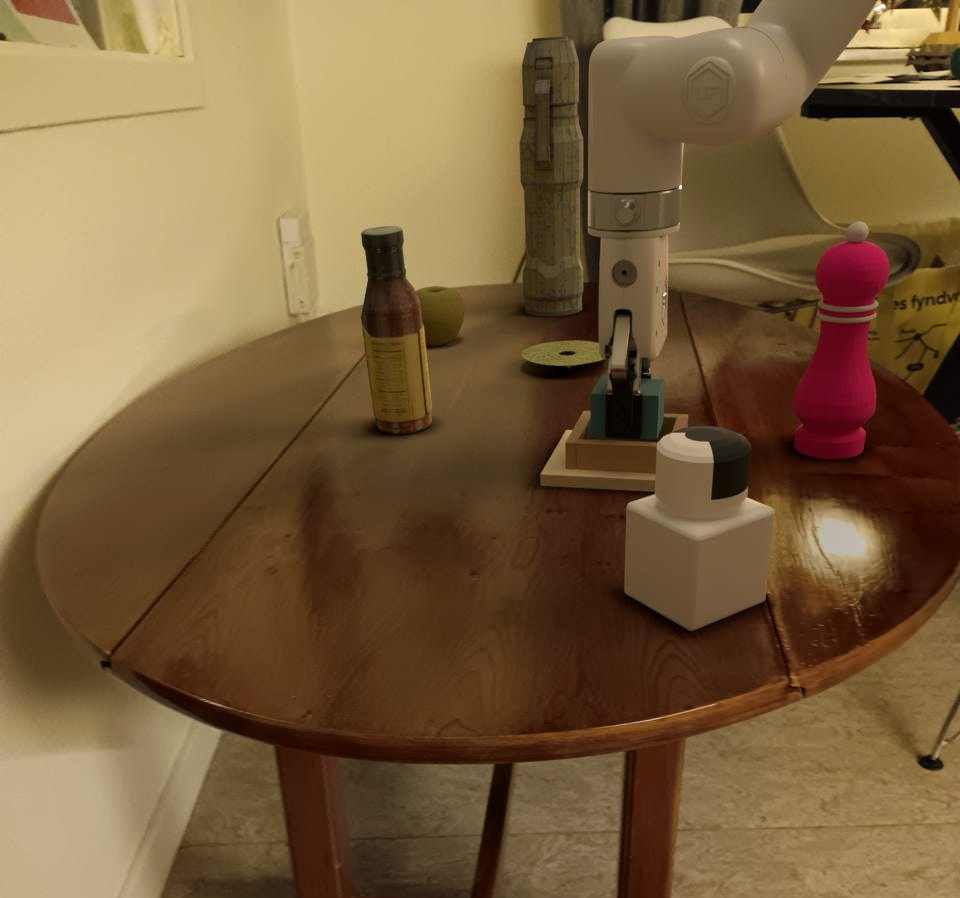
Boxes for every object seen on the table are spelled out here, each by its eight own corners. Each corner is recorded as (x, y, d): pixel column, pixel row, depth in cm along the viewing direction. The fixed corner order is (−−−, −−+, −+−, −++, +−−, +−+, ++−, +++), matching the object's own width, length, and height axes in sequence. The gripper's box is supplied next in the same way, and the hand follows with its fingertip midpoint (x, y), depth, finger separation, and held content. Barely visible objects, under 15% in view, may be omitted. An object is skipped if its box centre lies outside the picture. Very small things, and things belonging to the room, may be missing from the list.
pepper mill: (885, 449, 93) (923, 219, 82) (834, 468, 89) (867, 231, 79) (822, 430, 98) (851, 212, 88) (772, 447, 94) (795, 223, 84)
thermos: (519, 320, 144) (511, 39, 126) (528, 302, 154) (521, 39, 136) (580, 319, 143) (581, 35, 125) (585, 300, 153) (585, 35, 135)
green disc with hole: (602, 382, 115) (602, 365, 114) (510, 378, 119) (509, 362, 118) (621, 356, 125) (621, 340, 124) (535, 353, 128) (535, 338, 127)
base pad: (708, 447, 95) (711, 409, 94) (698, 495, 86) (701, 454, 84) (566, 441, 99) (565, 405, 97) (540, 486, 89) (539, 447, 87)
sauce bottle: (400, 414, 109) (381, 221, 99) (445, 422, 106) (430, 224, 96) (361, 432, 105) (337, 232, 94) (407, 441, 101) (387, 235, 91)
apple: (477, 342, 135) (474, 287, 131) (431, 354, 130) (426, 298, 127) (442, 333, 140) (439, 280, 136) (397, 345, 135) (392, 290, 132)
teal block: (663, 421, 92) (665, 379, 90) (657, 440, 88) (658, 395, 86) (599, 419, 93) (599, 377, 91) (590, 437, 89) (590, 393, 87)
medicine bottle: (695, 566, 74) (706, 410, 68) (767, 602, 69) (785, 436, 63) (621, 594, 71) (625, 433, 65) (690, 634, 66) (702, 463, 60)
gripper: (668, 229, 73) (658, 462, 82) (689, 197, 87) (678, 399, 96) (568, 230, 75) (569, 458, 84) (605, 198, 89) (602, 397, 98)
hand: (628, 424), depth 90 cm, fingers closed on teal block, 5 cm apart
